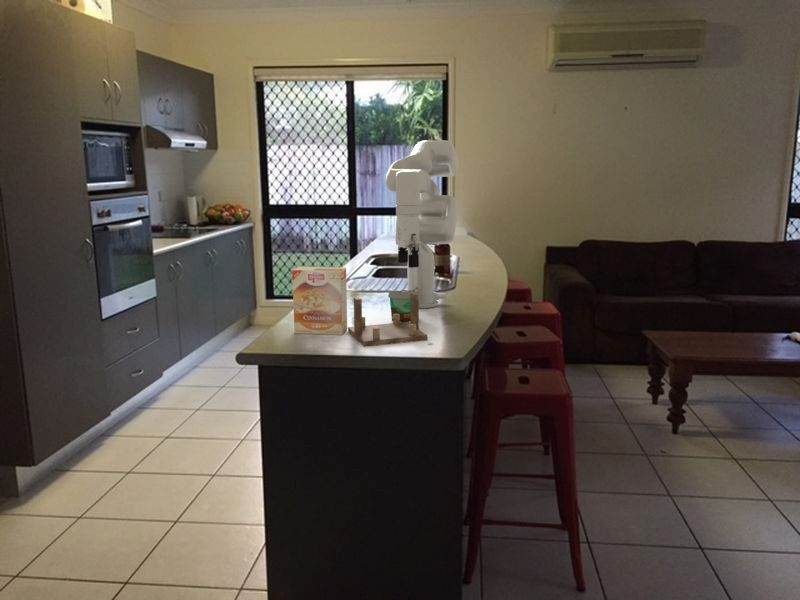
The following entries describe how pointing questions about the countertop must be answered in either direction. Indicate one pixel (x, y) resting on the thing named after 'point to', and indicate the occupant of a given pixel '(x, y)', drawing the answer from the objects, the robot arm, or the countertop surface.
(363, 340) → the peg stand
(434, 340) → the countertop surface
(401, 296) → the food container
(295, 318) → the coffeecake box
